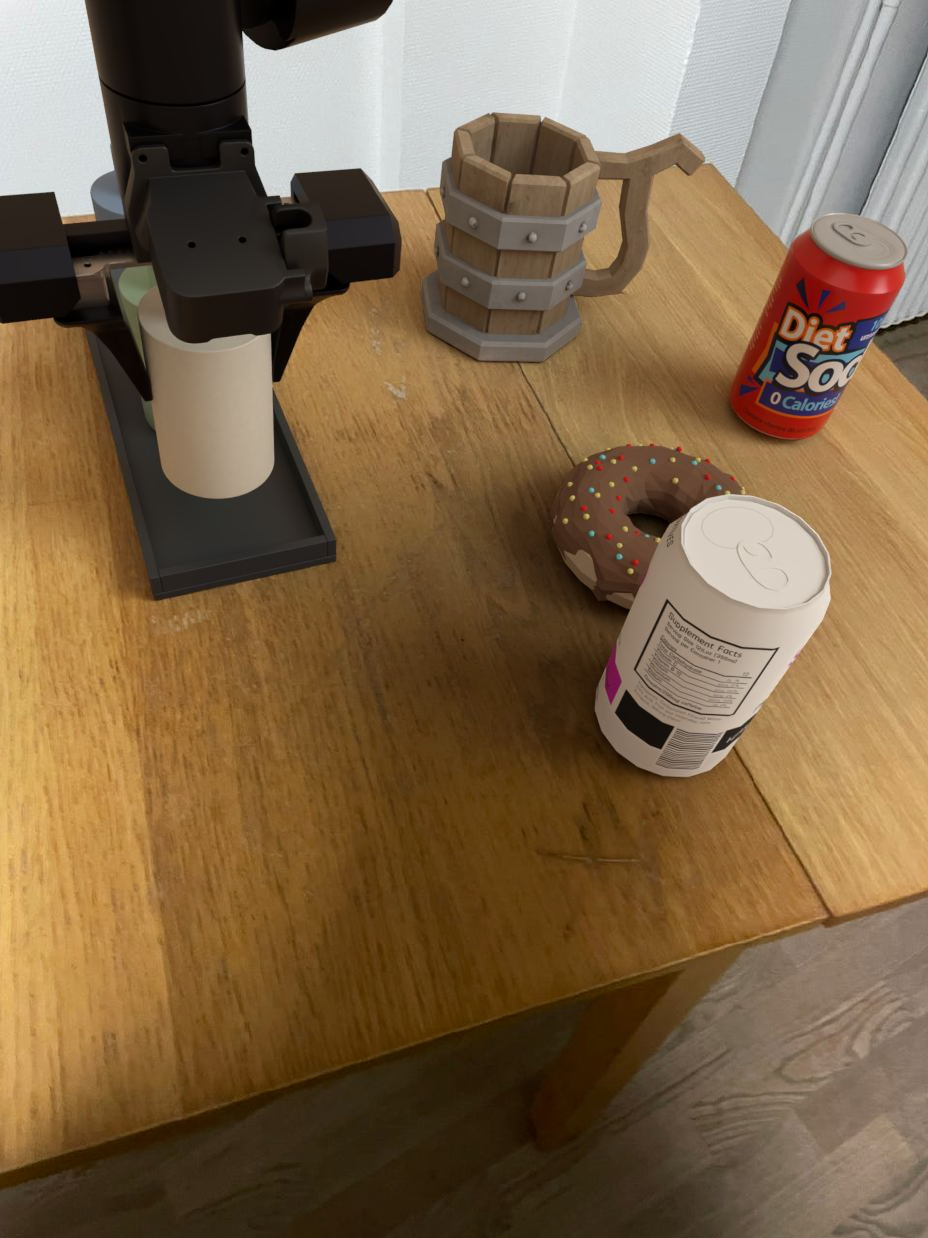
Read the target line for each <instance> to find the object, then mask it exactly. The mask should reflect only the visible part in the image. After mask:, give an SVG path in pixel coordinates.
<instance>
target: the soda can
mask: <svg viewBox="0 0 928 1238" xmlns="http://www.w3.org/2000/svg"><path fill="white" fill-rule="evenodd" d="M907 257H908V246H907V244H906V243H905V241H904V239H903V238H902V237H901V236H900V235H899V234H897V232H895V231H894V230H893V229H891V228H889V227H888V226H887V225H885V224H883V223H881V222H879V221H877V220H874V219H873V218H872V219H871V218H869V217H866V216H863V215H859V214H855V213H849V212H828V213H824V214H820V215H819V216H817V217H815V219H813V221H812V222H811V224H810V227H809V228H807V230H805V231H803V232H801V233H800V234H799V235H797V236H796V237H795V239H794V240H793V241H792V243H791V245H790V247H789V249H788V251H787V253H786V256H785V259H784V261H783V263H782V265H781V267H780V270H779V272H778V274H777V277H776V279H775V282H774V284H773V285H772V288H771V290H770V293H769V295H768V298H767V300H766V302H765V305H764V307H763V309H762V311H761V314H760V316H759V318H758V320H757V323H756V325H755V327H754V330H753V333H752V334H751V337H750V339H749V342H748V344H747V346H746V349H745V351H744V353H743V355H742V358H741V360H740V362H739V364H738V367H737V370H736V372H735V373H734V377H733V379H732V381H731V384H730V387H729V390H728V401H729V404H730V406H731V409H732V410H733V412H734V413H735V415H736V416H738V418H739V419H740V420H741V421H742V422H743V423H745V424H746V425H747V426H749V427H750V428H752V430H755V431H757V432H759V433H762V434H763V435H766V436H769V437H773V438H776V439H781V440H803V439H807V438H808V439H809V438H810V437H813V436H815V435H817V434H819V432H821V431H822V429H823V428H824V427H825V426H826V424H827V422H828V421H829V419H830V418H831V416H832V414H833V412H834V410H835V408H836V407H837V405H838V403H839V401H840V400H841V398H842V396H843V394H844V392H845V390H846V389H847V387H848V385H849V383H850V381H851V380H852V378H853V376H854V374H855V372H856V370H858V367H859V365H860V363H861V362H862V360H863V358H864V356H865V355H866V353H867V351H868V349H869V347H870V346H871V344H872V342H873V340H874V339H875V337H876V335H877V333H878V332H879V329H880V328H881V326H882V325H883V322H884V320H885V319H886V317H887V315H888V313H889V311H890V309H891V308H892V306H893V305H894V302H895V300H896V299H897V297H898V296H899V293H900V291H901V289H902V287H903V286H904V283H905V281H906V270H905V263H904V262H905V260H906V259H907Z"/></svg>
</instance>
